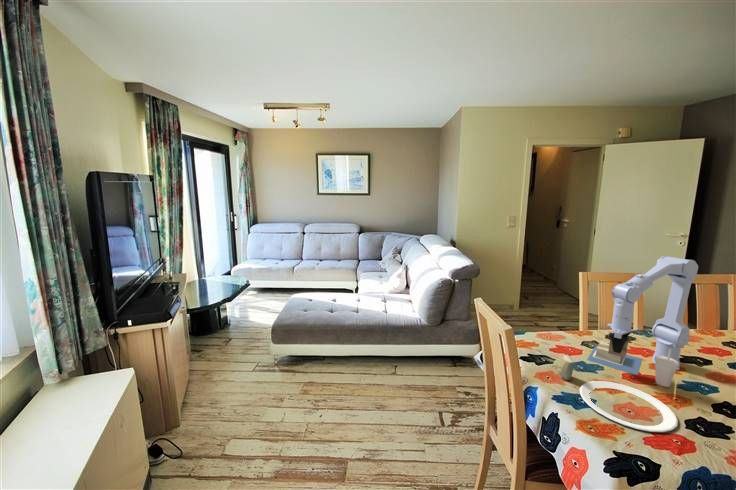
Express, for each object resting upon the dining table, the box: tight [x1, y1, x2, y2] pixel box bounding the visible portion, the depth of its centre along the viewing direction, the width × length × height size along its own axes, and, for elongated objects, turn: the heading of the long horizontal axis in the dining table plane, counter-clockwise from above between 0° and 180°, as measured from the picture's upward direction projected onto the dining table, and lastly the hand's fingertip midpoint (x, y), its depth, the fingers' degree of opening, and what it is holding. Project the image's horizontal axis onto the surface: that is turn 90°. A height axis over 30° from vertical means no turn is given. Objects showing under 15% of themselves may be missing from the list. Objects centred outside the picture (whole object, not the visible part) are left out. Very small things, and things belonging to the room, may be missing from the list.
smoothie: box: [654, 349, 680, 388], centre depth 113 cm, size 6×6×14 cm
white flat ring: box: [579, 380, 679, 433], centre depth 103 cm, size 25×25×1 cm
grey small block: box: [557, 354, 575, 382], centre depth 118 cm, size 6×5×8 cm
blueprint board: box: [586, 345, 643, 376], centre depth 130 cm, size 17×16×1 cm
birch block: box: [596, 341, 622, 364], centre depth 132 cm, size 8×8×4 cm
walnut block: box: [608, 337, 630, 358], centre depth 120 cm, size 5×5×6 cm
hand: (618, 349), depth 121 cm, fingers closed on walnut block, 5 cm apart
